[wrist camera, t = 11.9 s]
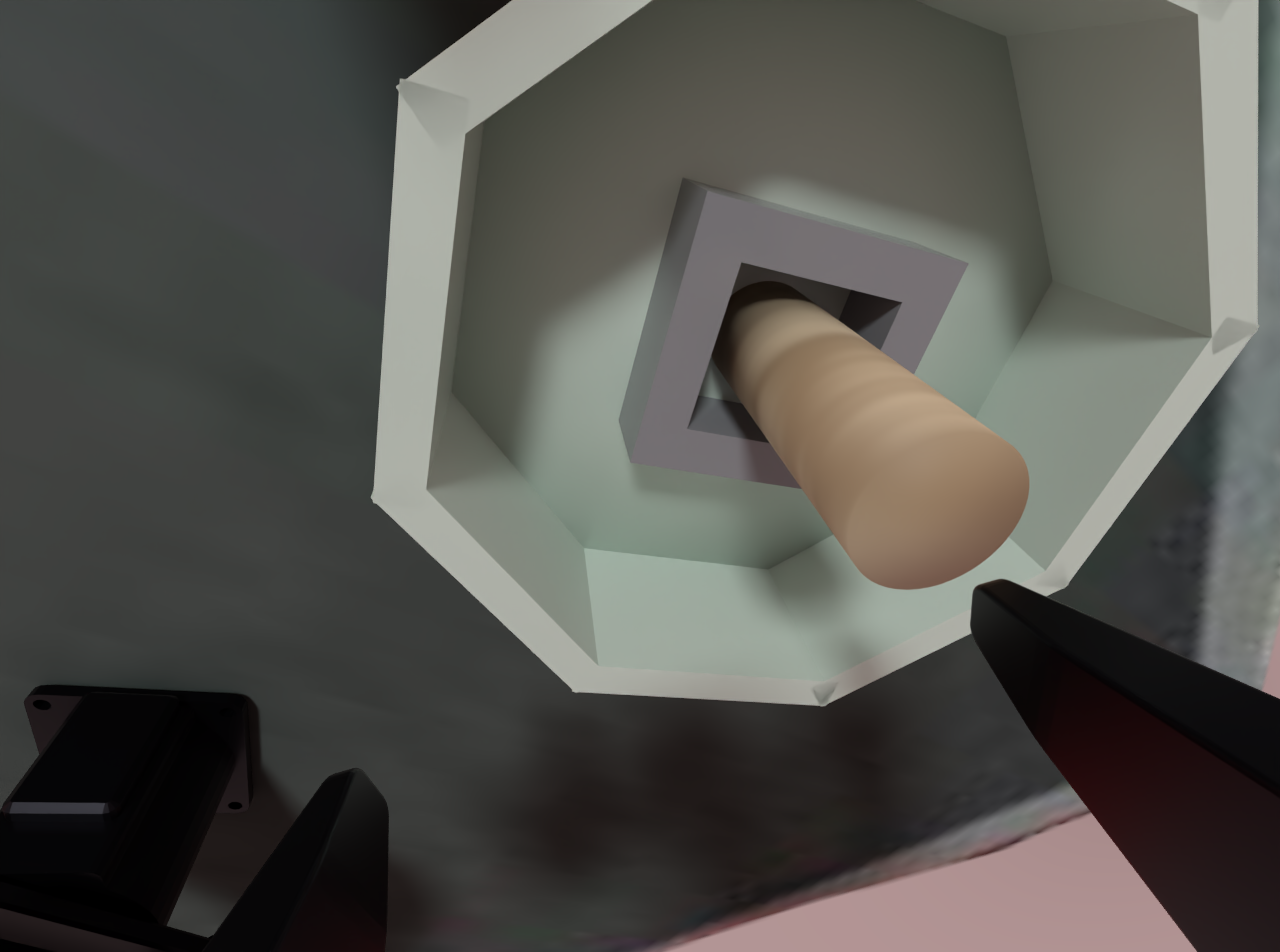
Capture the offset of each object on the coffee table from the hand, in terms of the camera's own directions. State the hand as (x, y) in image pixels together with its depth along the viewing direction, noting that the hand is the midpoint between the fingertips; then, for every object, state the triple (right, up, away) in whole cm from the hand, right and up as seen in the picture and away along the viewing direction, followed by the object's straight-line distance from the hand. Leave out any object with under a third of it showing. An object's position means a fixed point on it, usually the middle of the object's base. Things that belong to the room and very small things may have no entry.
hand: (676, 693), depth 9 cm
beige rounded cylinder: (+3, +7, +9) cm, 12 cm away
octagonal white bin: (+3, +8, +9) cm, 12 cm away
